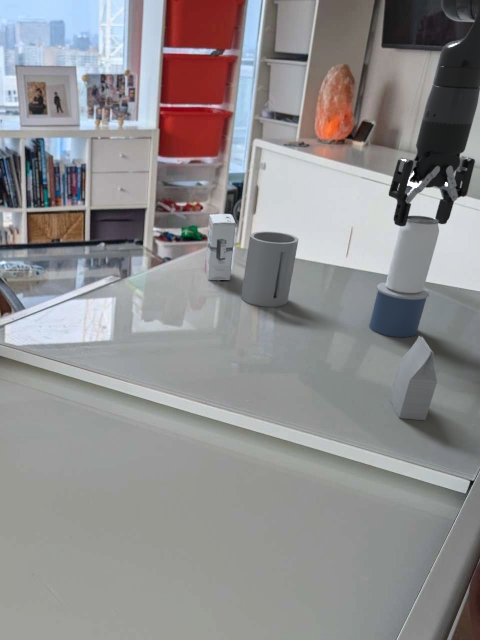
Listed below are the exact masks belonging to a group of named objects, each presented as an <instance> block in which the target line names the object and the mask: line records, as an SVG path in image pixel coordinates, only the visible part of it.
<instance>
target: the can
mask: <svg viewBox="0 0 480 640" xmlns="http://www.w3.org/2000/svg"><path fill="white" fill-rule="evenodd" d="M439 234H440V227H439V220H437V219H435V217H430V216H424V215H408V219H407V223H406V225H405V226H399V228H398V232H397V237H396V240H395V244H394V249H393V253H392V257H391V260H390V264H389V269H388V273H387V277H386V281H385V282H386V286H387V288H388V289H389V290H391V291H394V292H397V293H402V294H418V293H420V292H421V291H422V290H423V288H425V285H426V281H427V277H428V275H429V270H430V267H431V263H432V260H433V256H434V253H435V249H436V245H437V242H438V239H439V238H438V237H439Z"/></svg>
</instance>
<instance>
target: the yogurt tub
mask: <svg viewBox="0 0 480 640" xmlns="http://www.w3.org/2000/svg"><path fill="white" fill-rule="evenodd" d="M376 290H377V292H376V297H375V301H374V305H373V308H372V313H371V317H370V321H369V325H368V326H369V329H370V330H372V331H373V332H375V333H378V334H379V335H383V336H387V337H388V336H389V337H394V336H395V337H394V338H410V337H409V336H411V337H415V336H416V335H417V333H418V330H419V326H420V322H421V318H422V316H423V312H424V308H425V304H426V301H427V298H429V296H430V291H429V290H428V289H426V287H424V288H423V290H422V291H421V292H420V293H418V294H402V293H397V292H394V291H391V290H389V289H388V288H387V286H386V281H384V282H379V283H378V284H377V286H376Z"/></svg>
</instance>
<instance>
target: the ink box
mask: <svg viewBox="0 0 480 640" xmlns="http://www.w3.org/2000/svg"><path fill="white" fill-rule="evenodd" d="M208 216H209V217H208V226H207V228H208V229H207V240H206V252H205V264H204V270H205V274H206V277H207V280H208V281H220V280H230V281H231V274H232V264H233V254H234V244H235V237H236V236H235V235H236V226H237V225H236V220H235V218H234V216H233V214H230V213H215V214H214V213H213V214H209V215H208Z"/></svg>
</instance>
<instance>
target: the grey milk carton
mask: <svg viewBox="0 0 480 640" xmlns="http://www.w3.org/2000/svg"><path fill="white" fill-rule="evenodd" d="M437 384H438V381H437V374H436V370H435V363H434V352H433V350H432V348H431V347H430V346H429V345H428V343H427V342H426V340H425V338H424V337H423V336H421V335H418V337H417V338H416V340H415V342H414V343H413V344H412V346H411V347H410V348H409V350H408V351H407V352H406V353H405V354H404V355H403V356H402V358H401V359H400V360H399V361H398V365H397V369H396V372H395V376H394V380H393V383H392V387H391V390H390V394H389V398H388V399H389V400H390V403H391V405H392V407H393V409H394V410H395V413H396V415H397V417H398V419H405V420H417V421H418V420H420V421H426V419H427V417H428V412H429V410H430V406H431V403H432V400H433V396H434V393H435V390H436V388H437Z"/></svg>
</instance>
